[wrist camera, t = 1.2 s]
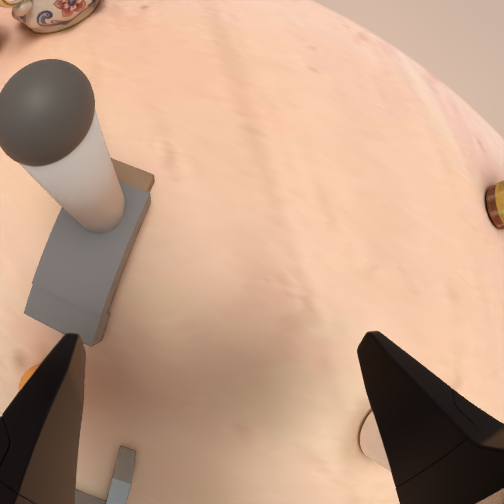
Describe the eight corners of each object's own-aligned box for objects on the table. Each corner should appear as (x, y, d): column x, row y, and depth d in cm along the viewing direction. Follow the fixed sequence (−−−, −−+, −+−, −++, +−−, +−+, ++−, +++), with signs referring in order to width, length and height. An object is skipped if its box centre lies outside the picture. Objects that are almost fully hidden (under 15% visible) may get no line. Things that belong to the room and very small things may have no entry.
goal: (117, 514, 18) (113, 550, 13) (-30, 442, 15) (-56, 462, 10) (135, 451, 20) (131, 484, 15) (-24, 372, 17) (-57, 385, 12)
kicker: (101, 340, 20) (-16, 416, 5) (41, 311, 19) (-124, 320, 4) (151, 208, 22) (139, 47, 7) (92, 183, 21) (15, 23, 6)
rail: (103, 305, 21) (99, 306, 19) (60, 285, 20) (54, 285, 19) (154, 181, 23) (154, 174, 22) (112, 165, 22) (110, 157, 21)
